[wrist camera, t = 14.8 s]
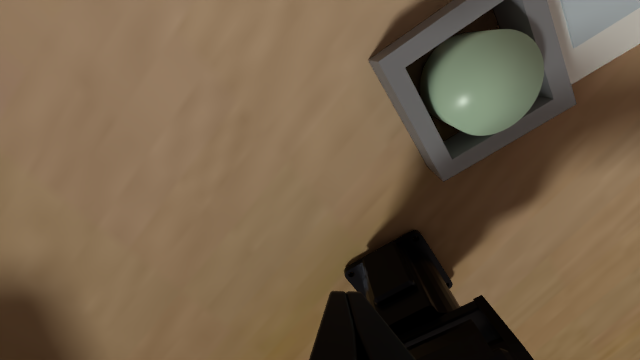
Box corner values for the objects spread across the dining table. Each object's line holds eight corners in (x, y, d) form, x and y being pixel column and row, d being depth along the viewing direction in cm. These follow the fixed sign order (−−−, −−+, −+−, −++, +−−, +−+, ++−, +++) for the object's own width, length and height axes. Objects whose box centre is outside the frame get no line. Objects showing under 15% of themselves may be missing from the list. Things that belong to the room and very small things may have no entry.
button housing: (543, 97, 18) (576, 103, 16) (427, 166, 20) (443, 181, 18) (500, -34, 15) (533, -47, 13) (368, 60, 17) (377, 62, 15)
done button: (516, 91, 18) (556, 99, 15) (441, 137, 19) (465, 153, 16) (487, 12, 16) (526, 4, 13) (405, 67, 17) (425, 71, 14)
